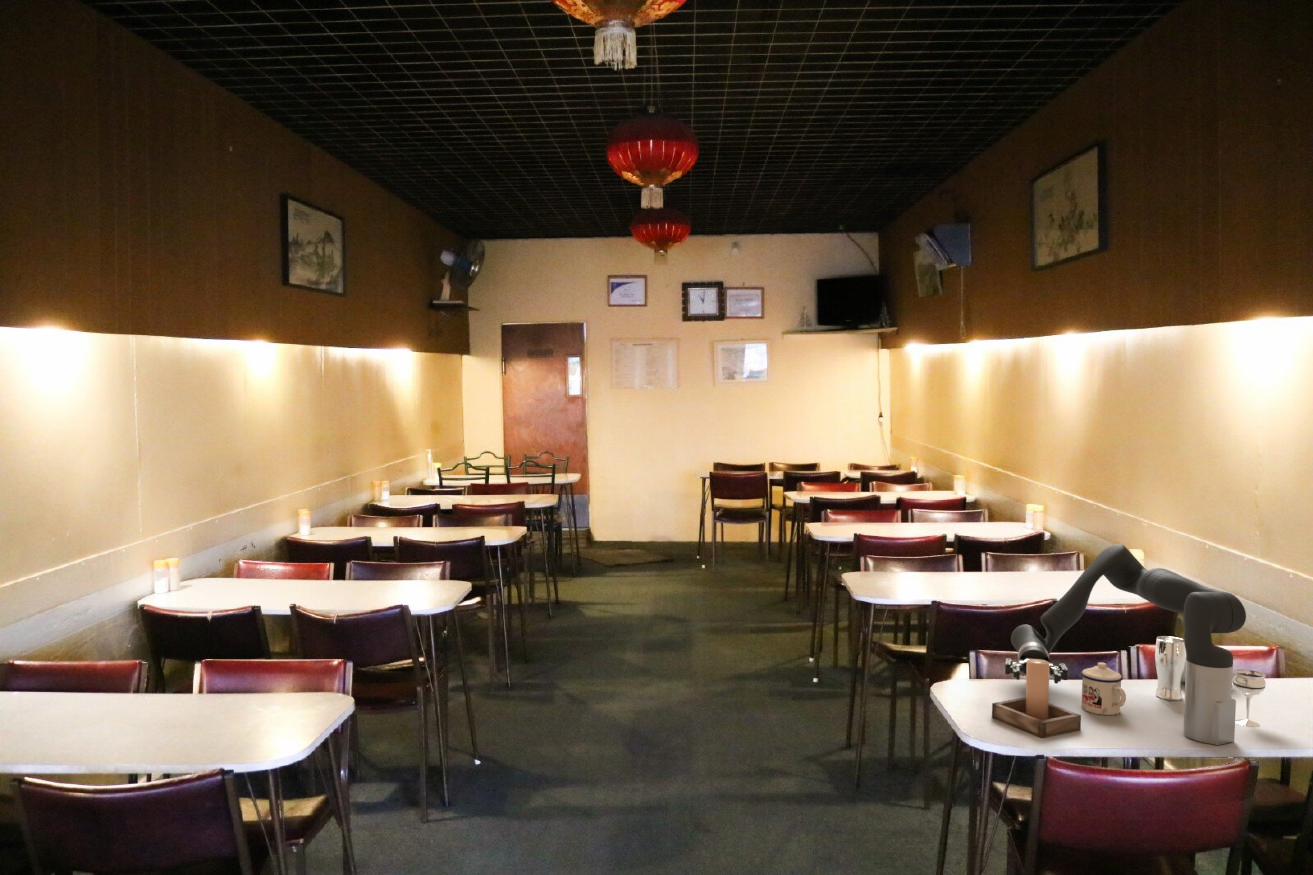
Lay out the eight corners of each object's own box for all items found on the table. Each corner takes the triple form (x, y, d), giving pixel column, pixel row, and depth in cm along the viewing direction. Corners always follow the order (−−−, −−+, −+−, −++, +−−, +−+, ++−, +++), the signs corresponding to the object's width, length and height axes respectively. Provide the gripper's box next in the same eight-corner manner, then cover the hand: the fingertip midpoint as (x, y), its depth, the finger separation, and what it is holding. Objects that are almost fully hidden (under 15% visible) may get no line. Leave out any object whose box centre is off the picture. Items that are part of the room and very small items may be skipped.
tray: (1080, 730, 223) (1081, 715, 223) (1042, 738, 218) (1042, 723, 217) (1029, 710, 236) (1029, 696, 236) (991, 717, 231) (992, 703, 231)
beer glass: (1177, 693, 251) (1179, 636, 250) (1189, 701, 244) (1191, 643, 243) (1149, 692, 252) (1151, 635, 251) (1160, 700, 245) (1162, 642, 244)
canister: (1052, 722, 226) (1054, 663, 225) (1037, 725, 224) (1038, 666, 223) (1036, 715, 231) (1037, 658, 230) (1020, 719, 228) (1021, 660, 228)
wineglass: (1270, 725, 227) (1272, 675, 227) (1254, 730, 224) (1256, 679, 224) (1240, 716, 233) (1242, 667, 233) (1224, 721, 230) (1226, 671, 229)
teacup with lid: (1072, 705, 240) (1073, 659, 240) (1101, 702, 243) (1103, 656, 243) (1108, 721, 229) (1110, 673, 228) (1139, 717, 232) (1140, 670, 231)
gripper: (1004, 642, 248) (1005, 659, 232) (1064, 647, 243) (1070, 664, 228) (1003, 671, 248) (1005, 689, 233) (1063, 677, 243) (1069, 696, 228)
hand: (1037, 677), depth 230 cm, fingers open, 8 cm apart
